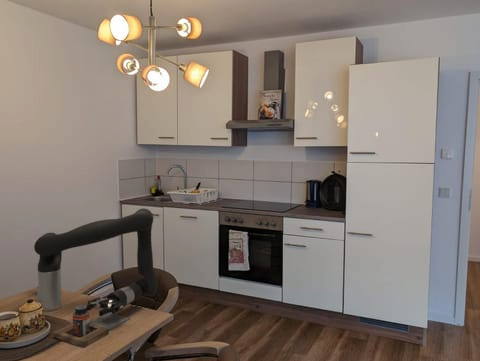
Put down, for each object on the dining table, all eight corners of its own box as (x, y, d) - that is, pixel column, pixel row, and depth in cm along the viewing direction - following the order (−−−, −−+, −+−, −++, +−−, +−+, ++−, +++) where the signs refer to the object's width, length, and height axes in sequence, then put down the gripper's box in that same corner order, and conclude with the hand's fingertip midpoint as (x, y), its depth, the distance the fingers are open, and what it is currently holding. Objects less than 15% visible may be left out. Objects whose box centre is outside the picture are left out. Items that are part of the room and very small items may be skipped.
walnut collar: (53, 337, 152) (53, 332, 152) (79, 325, 163) (79, 320, 163) (84, 347, 145) (83, 342, 145) (108, 333, 155) (108, 328, 155)
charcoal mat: (86, 324, 164) (86, 323, 164) (108, 313, 174) (108, 312, 174) (108, 330, 158) (108, 329, 158) (130, 319, 169) (130, 318, 169)
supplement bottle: (69, 337, 152) (68, 308, 151) (81, 331, 158) (80, 303, 157) (81, 340, 150) (81, 311, 149) (93, 333, 155) (92, 305, 154)
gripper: (108, 286, 175) (78, 299, 161) (133, 292, 169) (105, 305, 154) (108, 303, 176) (78, 317, 161) (134, 309, 169) (105, 324, 155)
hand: (91, 311), depth 158 cm, fingers open, 8 cm apart
